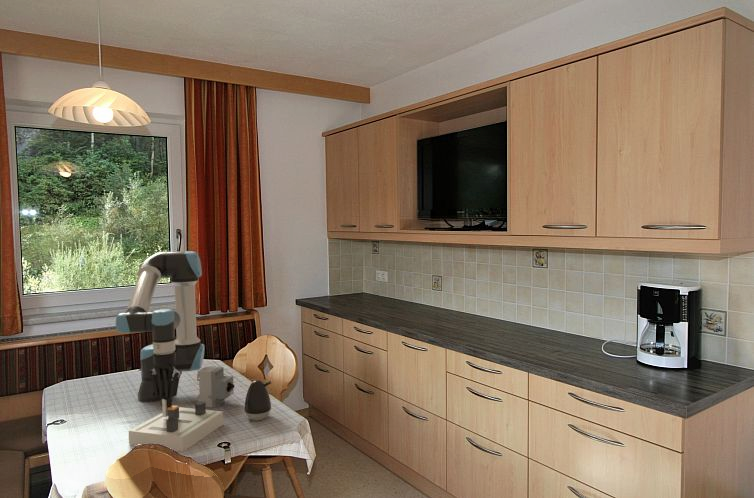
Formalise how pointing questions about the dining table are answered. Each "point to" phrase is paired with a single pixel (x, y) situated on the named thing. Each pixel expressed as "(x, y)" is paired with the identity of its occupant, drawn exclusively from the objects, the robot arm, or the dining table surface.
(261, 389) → the pump dispenser
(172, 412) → the block
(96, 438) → the dining table surface
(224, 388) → the circuit breaker
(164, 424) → the breaker panel
